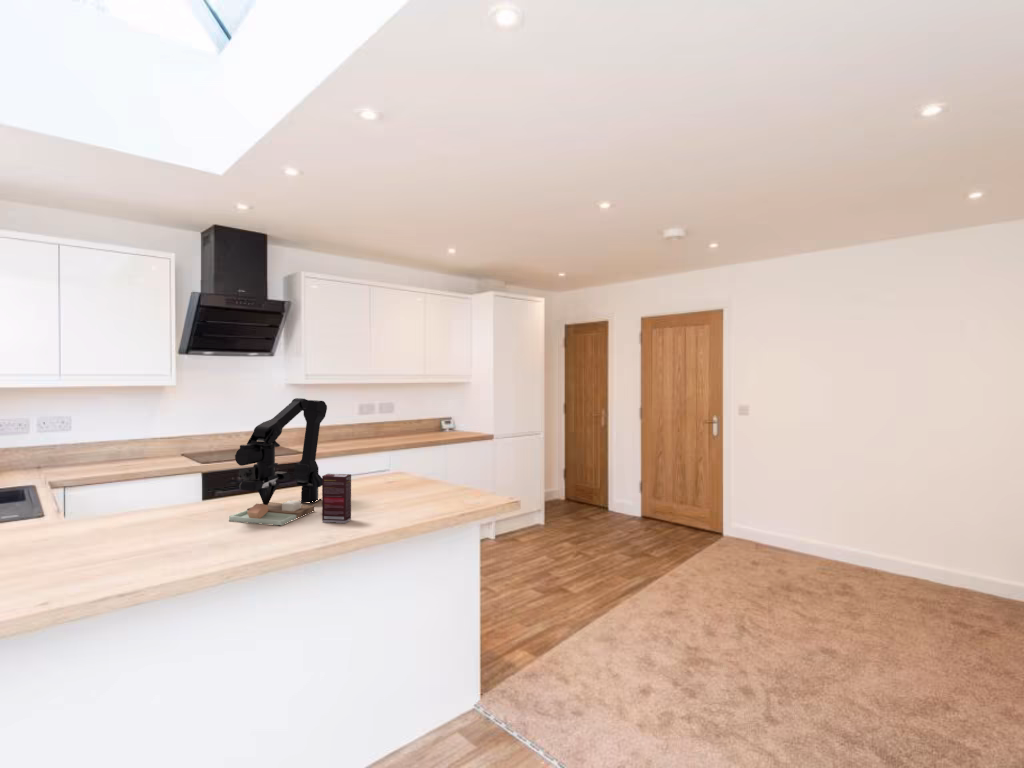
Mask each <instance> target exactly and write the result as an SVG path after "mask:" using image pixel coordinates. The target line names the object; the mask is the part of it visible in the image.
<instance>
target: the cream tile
mask: <svg viewBox="0 0 1024 768" xmlns="http://www.w3.org/2000/svg"><path fill="white" fill-rule="evenodd" d="M281 503H282V510H283V511H295V510H298V509H300V508H301V505H302V503H301V501H300V500H292V499H291V500H290V499H289V500H287V501H285V502H281Z"/></svg>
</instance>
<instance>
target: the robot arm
mask: <svg viewBox="0 0 1024 768" xmlns="http://www.w3.org/2000/svg"><path fill="white" fill-rule="evenodd" d="M327 410H328V405H327V404H326V402H325V401H323V400H314V399H313V400H312V399H307V398H300V397H298V398H297V397H296V398H293V399H292V401H291V402H290V403H289V404H288V405H286V406H285V407H284V408H283V409H282V410H280V411H279V412H278V413H277V414H276V415H275V416H274V417H272V418H271V419H269V420H268V419H267V420H266V421H262V422H261V423H259V424H258V425H257V426H255V427H254V429H253V432H252V434H251V435H250V437H249V439H248V440H247V443H246V444H240V445H239V449H238V450H237V451H236V452H235V455H234V459H235V462H236V464H237V465H239V466H240V467H241V466H242V467H243V466H247V465H253V466H252V468H251V469H248V468H242V469H239V470H238V471H239V472H238V476H239V479H240V480H243V481H241V482H240V483H239V490H241V491H251V492H256V491H257V492H258V494H259V497H260V499H261V501H262V503H263V504H264V505H268V503H269V502H270V501H271V499H272V497H273V495H274V493H275V492H276V490H277V488H278V487H279V486H280V483H277V482H276V481H278V480H282V481H283V482H287V481H290V479H291V477H290V476H291V474H290V473H289V472H288V471H276V467H277V466H278V465H279V464H278V462H276V448H277V447H280V446H281V444H280V443H278V442H277V439H278V438H279V437H280V435H281V434H282V433H283V429H284V428H285V427H286V425H288V424H289V423H290V422H291V421H292V420H293V419H295V418H296V416H297V415H299V414H300V413H301V412H303V418H304V420H305V424H306V425H305V433H304V439H303V446H302V447H303V448H302V454H301V459H300V461H299V462H298V463H295V464H294V470H293V476H294V479H295V482H296V486H298V487H299V486H301V492H300V493H301V494H300V496H301V497H300V498H301V499H300V500H301V502H310V503H313V502H315V501H316V500H318V498H319V488H322V476H321V475H320V474H319V465H318V463H317V460H316V458H317V451H318V450H317V449H318V442H319V435H320V428H321V423H322V422H323V420H324V419H325V417H326V415H327ZM312 501H313V502H312ZM310 503H309V504H310ZM315 503H316V502H315ZM313 504H314V503H313Z"/></svg>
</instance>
